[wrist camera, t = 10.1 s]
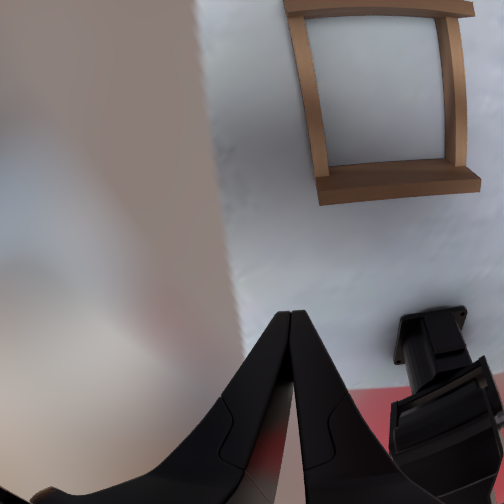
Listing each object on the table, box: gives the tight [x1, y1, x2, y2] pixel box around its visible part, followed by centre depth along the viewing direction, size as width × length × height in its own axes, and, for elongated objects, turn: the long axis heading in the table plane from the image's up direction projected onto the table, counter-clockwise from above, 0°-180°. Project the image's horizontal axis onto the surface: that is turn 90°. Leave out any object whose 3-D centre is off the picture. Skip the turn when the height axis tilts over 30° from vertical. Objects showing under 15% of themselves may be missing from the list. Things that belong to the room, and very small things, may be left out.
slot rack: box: [283, 0, 481, 206], centre depth 11 cm, size 20×10×4 cm, turn 12°
